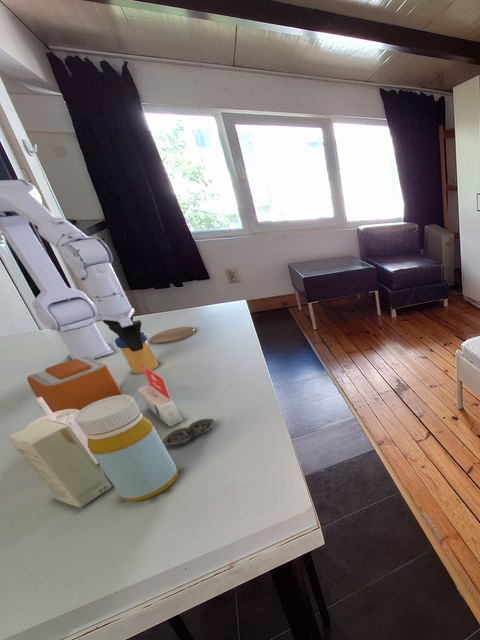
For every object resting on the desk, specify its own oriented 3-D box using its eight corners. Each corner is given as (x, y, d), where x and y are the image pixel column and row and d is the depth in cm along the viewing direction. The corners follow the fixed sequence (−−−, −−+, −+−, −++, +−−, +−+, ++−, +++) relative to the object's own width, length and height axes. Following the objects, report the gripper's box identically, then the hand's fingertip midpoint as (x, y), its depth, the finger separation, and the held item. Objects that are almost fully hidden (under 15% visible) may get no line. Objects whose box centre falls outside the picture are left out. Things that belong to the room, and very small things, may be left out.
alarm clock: (142, 420, 72) (109, 361, 66) (88, 447, 66) (45, 384, 59) (109, 402, 79) (76, 346, 73) (56, 425, 72) (14, 366, 66)
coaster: (146, 337, 110) (145, 336, 110) (188, 325, 118) (187, 324, 118) (156, 346, 104) (156, 345, 104) (200, 333, 111) (199, 332, 111)
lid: (115, 344, 89) (111, 338, 88) (144, 336, 93) (141, 330, 92) (120, 350, 86) (117, 344, 85) (150, 341, 89) (147, 335, 89)
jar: (130, 369, 92) (114, 339, 88) (155, 361, 96) (140, 332, 92) (135, 375, 89) (119, 345, 85) (161, 366, 93) (146, 337, 89)
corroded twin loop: (219, 429, 69) (217, 424, 68) (169, 452, 63) (166, 448, 63) (210, 419, 72) (208, 414, 71) (161, 441, 66) (159, 436, 66)
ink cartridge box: (169, 427, 70) (147, 384, 65) (148, 409, 76) (126, 369, 71) (184, 420, 72) (163, 378, 67) (162, 403, 77) (141, 363, 73)
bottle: (144, 471, 60) (98, 395, 53) (188, 467, 60) (148, 391, 53) (111, 506, 54) (54, 425, 47) (160, 501, 54) (111, 420, 47)
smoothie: (77, 483, 58) (25, 412, 52) (47, 478, 59) (-8, 408, 53) (119, 454, 64) (76, 387, 57) (90, 451, 65) (45, 384, 58)
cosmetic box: (114, 487, 57) (72, 424, 51) (80, 509, 53) (31, 445, 48) (88, 478, 59) (45, 417, 53) (54, 499, 55) (4, 436, 50)
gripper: (78, 293, 85) (107, 345, 91) (89, 304, 77) (120, 361, 83) (117, 285, 90) (142, 335, 96) (131, 295, 81) (158, 349, 88)
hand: (134, 346), depth 90 cm, fingers closed on lid, 5 cm apart
